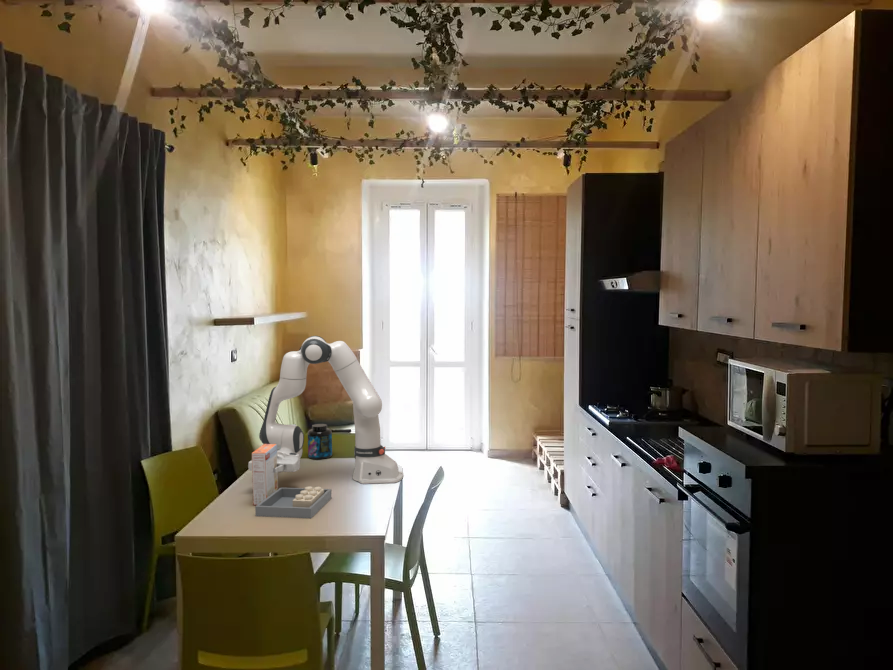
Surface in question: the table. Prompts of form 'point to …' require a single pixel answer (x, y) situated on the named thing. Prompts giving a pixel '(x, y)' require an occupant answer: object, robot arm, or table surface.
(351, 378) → the robot arm
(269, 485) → the cracker box
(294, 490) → the tote
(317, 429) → the container
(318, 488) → the egg carton
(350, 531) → the table surface
